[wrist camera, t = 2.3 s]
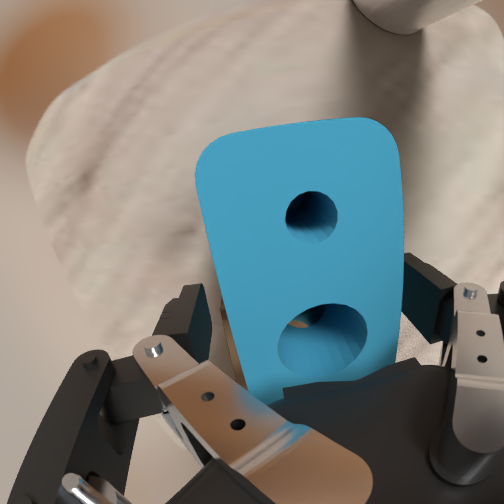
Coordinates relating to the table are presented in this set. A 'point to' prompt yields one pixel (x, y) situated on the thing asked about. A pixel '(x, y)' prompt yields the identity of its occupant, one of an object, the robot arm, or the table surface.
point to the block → (307, 248)
